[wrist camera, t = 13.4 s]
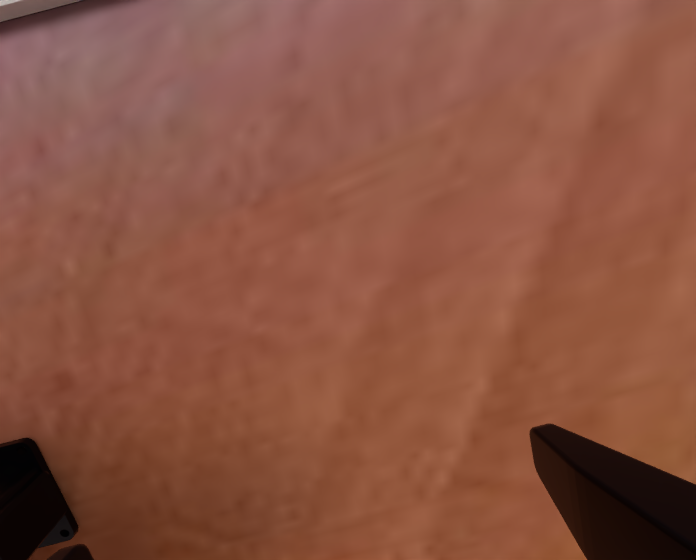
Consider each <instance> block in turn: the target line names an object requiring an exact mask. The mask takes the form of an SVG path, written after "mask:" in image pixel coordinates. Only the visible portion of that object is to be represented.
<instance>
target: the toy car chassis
mask: <svg viewBox="0 0 696 560" xmlns="http://www.w3.org/2000/svg"><path fill="white" fill-rule="evenodd" d="M78 1H82V0H0V22H2V21H6V20H10V19H14V18H18V17H21V16H25V15H29V14H33V13H36V12H40V11H44V10H48V9H52V8H55V7H59V6H63V5H67V4H70V3H74V2H78Z"/></svg>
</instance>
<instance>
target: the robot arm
mask: <svg viewBox="0 0 696 560" xmlns="http://www.w3.org/2000/svg"><path fill="white" fill-rule="evenodd" d="M530 441H531V447H532V453H533V459H534V465H535V468H536V471H537V473H538V475H539V477H540V479H541V481H542V482H543V484H544V486H545V488H546V489H547V491H548V493H549V495H550V496H551V498H552V500H553V502H554V503H555V505H556V507H557V509H558V510H559V512H560V514H561V515H562V517H563V519H564V521H565V522H566V524H567V526H568V528H569V529H570V531H571V533H572V535H573V536H574V538H575V540H576V542H577V543H578V545H579V547H580V548H581V550H582V552H583V553H584V555H585V557H586V558H587V560H696V484H693V483H691V482H689V481H686V480H684V479H682V478H679V477H677V476H674V475H672V474H670V473H667V472H665V471H663V470H660V469H658V468H656V467H653V466H651V465H648V464H646V463H644V462H641V461H639V460H637V459H634V458H632V457H630V456H627V455H625V454H622V453H620V452H618V451H615V450H613V449H611V448H608V447H606V446H604V445H601V444H599V443H596V442H594V441H592V440H589V439H587V438H585V437H582V436H580V435H578V434H575V433H573V432H571V431H568V430H566V429H563V428H561V427H559V426H556V425H554V424H544V425H540V426H537V427H533V428H532V429H531V430H530ZM23 447H24V448H25V449H26V450H25V449H24V448H23ZM77 531H78V525H77V523H76V521H75V519H74V517H73V515H72V513H71V511H70V509H69V507H68V505H67V503H66V501H65V499H64V497H63V495H62V493H61V491H60V489H59V487H58V485H57V483H56V481H55V480H54V478H53V476H52V474H51V472H50V470H49V468H48V466H47V464H46V462H45V460H44V458H43V456H42V454H41V452H40V450H39V448H38V446H37V444H36V443H35V442H34V441H33V440H32V439H29V438H22V439H18V440H14V441H11V442H7V443H3V444H0V560H28V559H29V558H30V557H31V555H32V554H33V553H34V552H35V551H36V549H37V548H40V547H44V546H48V545H52V544H56V543H60V542H64V541H67V540H70V539H72V538H73V536H74V535H75V534H76V532H77ZM47 560H94V559H93V557H92V555H91V553H90V551H89V549H88V548H87V546H85V545H84V544H77V545H73V546H70V547H66V548H63V549H60V550H58V551H57V552H56V553H54V554H53V555H52V556H51V557H49V558H48V559H47Z"/></svg>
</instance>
